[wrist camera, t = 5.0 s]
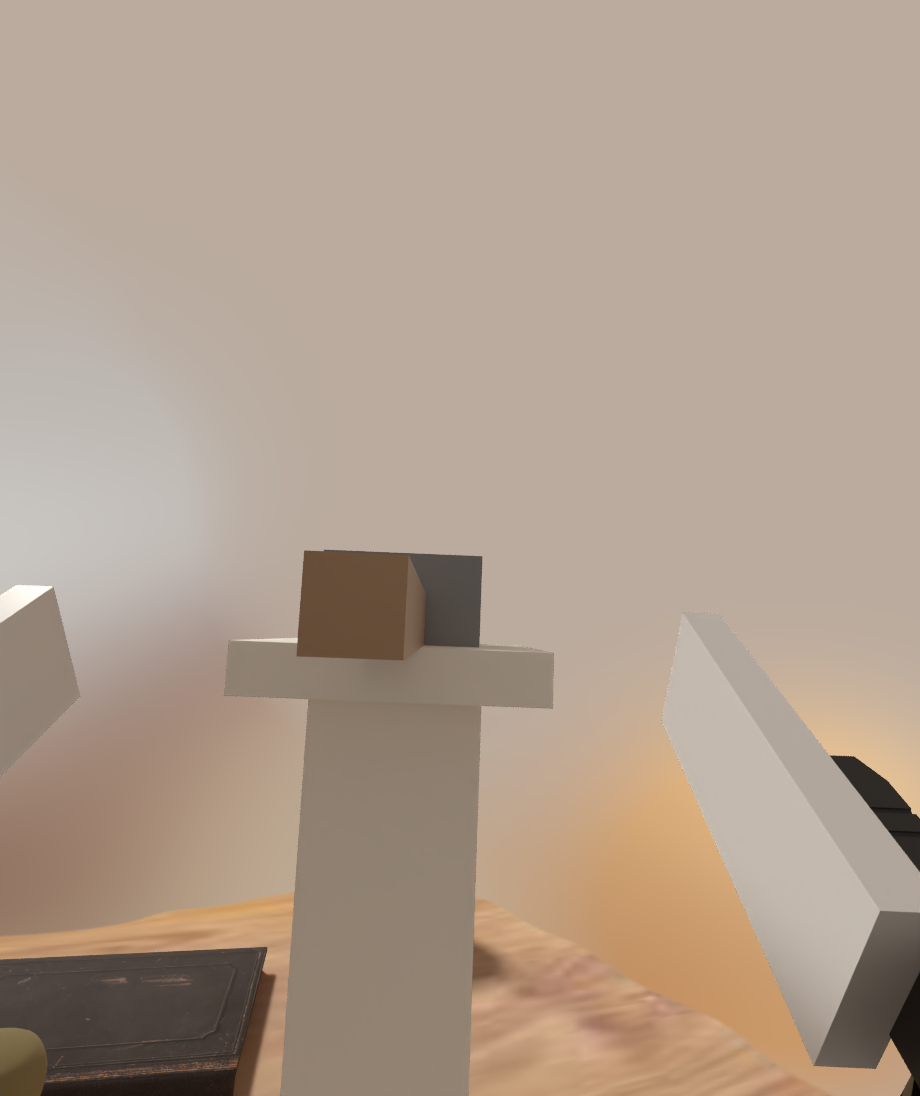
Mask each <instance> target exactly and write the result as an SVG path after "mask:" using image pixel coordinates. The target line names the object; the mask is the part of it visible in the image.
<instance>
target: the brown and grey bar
mask: <svg viewBox="0 0 920 1096" xmlns="http://www.w3.org/2000/svg"><path fill="white" fill-rule="evenodd" d="M481 576H482V556H460V555H458V556H457V555H435V554H411V553H388V552H364V551H341V550H324V551H304V562H303V575H302V588H301V601H300V615H299V628H298V642H297V655H296V656H299V657H325V658H351V659H378V660H405V659H406V658H407V657H409V656H410V655H412V654H413V653H414V652H416V651H417V650H418V649H420V648H421V647H422V646H424V645H428V646H454V647H479V636H480V606H481V578H482V577H481Z"/></svg>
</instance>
